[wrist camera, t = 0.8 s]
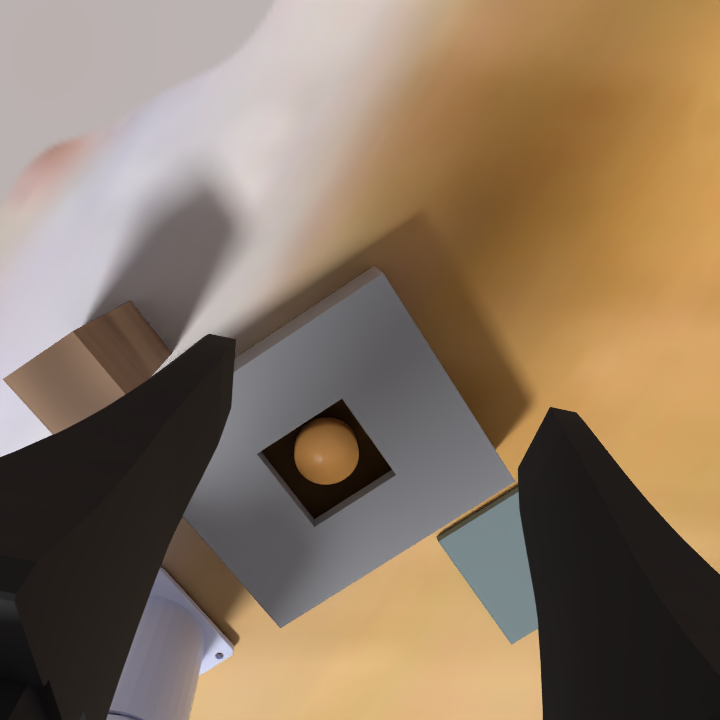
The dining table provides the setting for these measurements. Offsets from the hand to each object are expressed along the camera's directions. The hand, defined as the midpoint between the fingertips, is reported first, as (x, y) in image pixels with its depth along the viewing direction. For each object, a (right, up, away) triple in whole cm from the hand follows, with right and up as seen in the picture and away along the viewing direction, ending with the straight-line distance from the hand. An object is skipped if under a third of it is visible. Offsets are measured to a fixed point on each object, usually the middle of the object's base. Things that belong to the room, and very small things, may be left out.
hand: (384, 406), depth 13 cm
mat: (+11, -12, +25) cm, 30 cm away
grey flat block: (-3, -4, +21) cm, 21 cm away
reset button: (-3, -4, +20) cm, 20 cm away
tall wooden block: (-14, +2, +18) cm, 23 cm away
